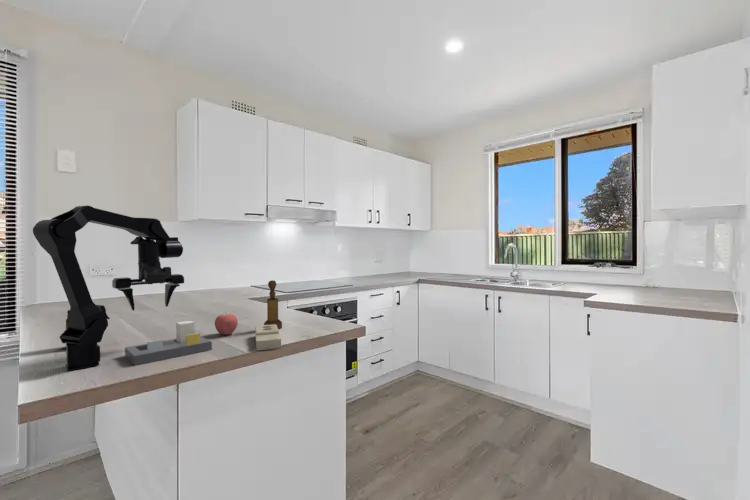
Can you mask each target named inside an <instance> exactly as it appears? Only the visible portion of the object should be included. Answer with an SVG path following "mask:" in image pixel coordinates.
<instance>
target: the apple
mask: <svg viewBox="0 0 750 500" xmlns="http://www.w3.org/2000/svg"><path fill="white" fill-rule="evenodd" d="M238 322H239V321H238V318H237V316H236V315H234V314H232V313H227V311H225V313H221V314H219V315H218V316H217V317H216V318H215V319H214V327H215V330H216V331H217V332H218V333H219V334H220V335H223V336H225V335H231V334H232V333H234V332H235V330H236V329H237V326H238Z"/></svg>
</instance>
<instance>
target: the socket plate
mask: <svg viewBox="0 0 750 500" xmlns="http://www.w3.org/2000/svg"><path fill="white" fill-rule="evenodd" d="M212 343H213V342H212V341H211V340H210V339H207V338H206V337H203V336H201V333H200V332H195V334H190V335H186V342H185V343H180V344H178V343H177V342H176V338H171V339H166V340H163V339H156V340H151V341H150V340H148V341H147V342H146V343H142V344H137V345H132V346H125V347H124V355H125V358H127V360H129V362H131V363H132V364H133V365H134V366H139V365H144V364H149V363H154V362H159V361H163V360H168V359H174V358H179V357H183V356H187V355H192V354H193V355H194V354H197V353H203V352H207V351H212V350H213V344H212Z"/></svg>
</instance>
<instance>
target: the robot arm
mask: <svg viewBox="0 0 750 500" xmlns="http://www.w3.org/2000/svg"><path fill="white" fill-rule="evenodd" d="M88 223H92V224H97V225H102V226H107V227H111V228H117V229H121V230H124V231H126V232H129V234H131V235H133V236H136V237H135V238H134V239H133V240H132V241H130V245H137V255H138V256H137V257H138V260H137V261H138V262H137V265H138V266H137V267H138V278H134V279H133V278H131V277H129V276H127V277H114V278H113V279H112V281H111V283H112V285H111V287H112V288H113V289H117V291H120V292H122V293H123V294H124V296H125V298H126V300H127V302H128V304H129V307H130V308H131V310H132V311H135V300H134V294H133V293H134V291H133V290H134V289H133V288H132V287H131V286H136V285H137V286H139V285H153V284H164V289H165V290H164V305H165V307H168V306H169V304H170V300H171V298H172V295H173V293H174V292H175V289H176V288H177V287H180V286H181V285H180V284H185V276H184V275H183V274H180V273H179V274H178V273H176V274H175V273H174V274H172V268H171V266H164V267H162V266H161V264H162V263H161V260H160V259H168V258H170V259H171V258H172V259H173V258H180V257H181V256H182V255H183V252H184V247H183V244H182V243H181V242H180V241H179V237H176V236H175V237H173V236H172V237H171V236H169V234H168V232H167V231H166V230H165V228H164V227H163V225H162V223H161V220H159V219H158V218H152V217H135V216H134V217H132V216H129V215H125V214H121V213H116V212H112V211H108V210H106V209H105V210H104V209H100V208H96V207H93V206H91V205H78V206H74V207H73V208H72V209H70V210H69V211H66V212H63V213H61V214H58V215H56V216H54V217H52V218H50V219H41V220H39V221H38V222H37V223H35V224H34V226H33V227H32V234H33V236H34V238H35V239H36V240H37V242H38V244H39V245H40V247H42V249H43V250H44V251H45V252H47V254H49V256H50V258H51V259H52V262H53V265H54V267H55V270H56V273H57V276H58V278H59V280H60V283H61V285H62V288H63V291H64V293H65V296H66V298H67V300H68V304H69V307H70V309H69V310H70V313H69V323H70V326H69V327H68V328H67V329H66V328H65V330H64V331H63V332H62V333H61V334H60V335H59V340H60V341H61V344H65V347H66V351H65V353H66V363H65V368H66V369H67V371H68V372H69V371H71V372H72V371H75V370H81V369H86V368H90V367H96V366H99V365H100V362H101V346H100V345H99V344H98V343H101V342H102V339H103V336H104V333H105V331H106V330H107V328H108V327H109V322H108V320H110V317H109V316H108V314H107V308H106V306H105V305H101V304H95V302H94V301H93V299H92V296H91V294H90V291H89V289H88V285H87V283H86V280H85V277H84V275H83V271H82V269H81V267H80V264H79V261H78V259H77V258H78V257H77V254H76V252H75V251H76V246H77V235H76V232H78V231H80V230H83V228H84V227H85V226H86V225H87V224H88ZM66 343H67V344H66Z"/></svg>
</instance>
